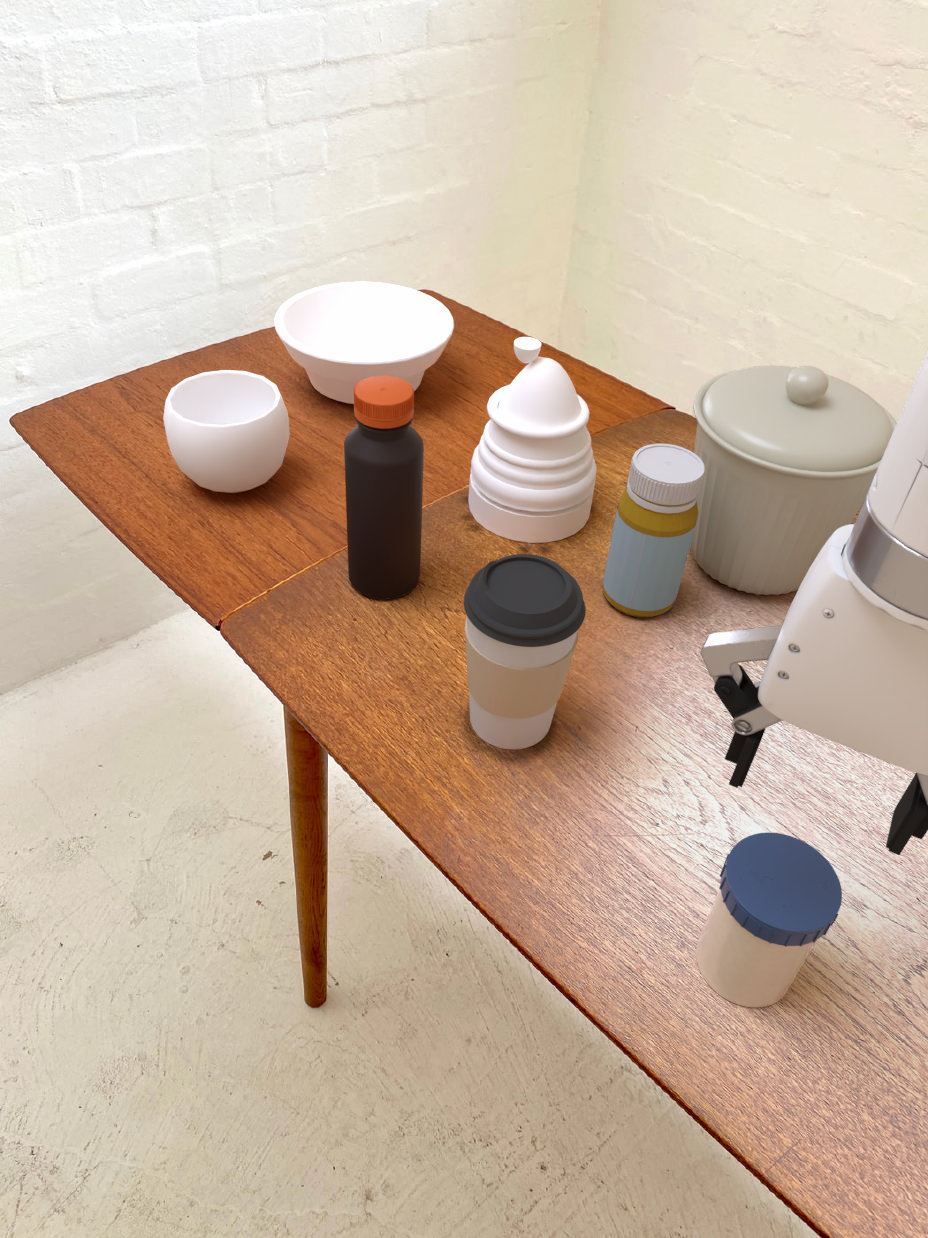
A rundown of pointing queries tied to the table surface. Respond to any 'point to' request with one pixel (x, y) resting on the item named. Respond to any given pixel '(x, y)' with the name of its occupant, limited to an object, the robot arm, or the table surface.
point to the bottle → (653, 530)
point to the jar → (745, 961)
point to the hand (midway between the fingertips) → (817, 799)
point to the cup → (227, 429)
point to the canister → (780, 471)
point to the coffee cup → (519, 646)
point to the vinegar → (384, 489)
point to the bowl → (363, 334)
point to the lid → (780, 889)
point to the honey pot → (534, 455)
